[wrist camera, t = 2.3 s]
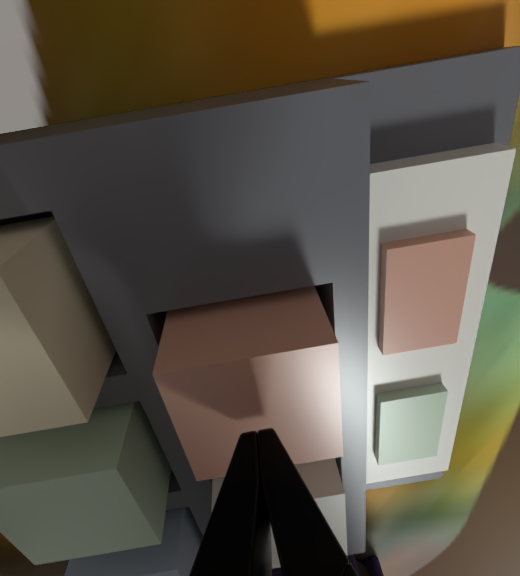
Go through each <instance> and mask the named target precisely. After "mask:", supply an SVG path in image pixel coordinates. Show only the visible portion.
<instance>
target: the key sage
mask: <svg viewBox="0 0 520 576" xmlns="http://www.w3.org/2000/svg"><path fill="white" fill-rule="evenodd" d="M170 474H171V467H170V465H169V462H168V460H167V458H166V456H165V454H164V452H163V450H162V447H161V445H160V443H159V441H158V439H157V437H156V435H155V432H154V430H153V428H152V426H151V424H150V422H149V419H148V417H147V415H146V413H145V411H144V409H143V407H142V404H141V402H140V401H137V402H131V403H125V404H119V405H113V406H107V407H102V408H96V409H93V411H92V413H91V416H90V419H89V421H88V422H87V423H81V424H75V425H69V426H63V427H57V428H51V429H46V430H40V431H34V432H28V433H22V434H16V435H10V436H4V437H0V533H1V534H2V535H3V536H4V537H6V538H7V539H8V540H9V541H10V542H11V543H12V544H13V545H14V546H15V547H16V548H17V549H18V550H19V551H20V552H21V553H22V554H23V555H24V556H25V557H27V558H28V559H29V560H30V561H31V562H32V563H33V564H34V565H39V564H45V563H51V562H57V561H63V560H69V559H75V558H81V557H87V556H93V555H99V554H105V553H111V552H117V551H123V550H128V549H134V548H140V547H146V546H152V545H158V544H161V542H162V535H163V527H164V520H165V512H166V504H167V497H168V489H169V482H170Z"/></svg>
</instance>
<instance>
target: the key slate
mask: <svg viewBox="0 0 520 576" xmlns="http://www.w3.org/2000/svg"><path fill="white" fill-rule="evenodd" d="M202 538H203V535H202V533H201V531H200V529H199V527H198V525H197V523H196V520H195V518H194V516H193V514H192V512H191V510H190V508H189V507H185V508H179V509H173V510H167V511H166V512H165V520H164V527H163V535H162V542H161V544H158V545H152V546H146V547H140V548H134V549H128V550H123V551H117V552H111V553H105V554H99V555H93V556H87V557H81V558H75V559H69V562H68V565H67V569H66V572H65V575H64V576H189V574H190V571H191V568H192V566H193V563H194V560H195V557H196V555H197V552H198V549H199V546H200V543H201V541H202Z"/></svg>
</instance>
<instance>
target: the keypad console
mask: <svg viewBox="0 0 520 576" xmlns="http://www.w3.org/2000/svg"><path fill="white" fill-rule="evenodd" d="M519 93H520V46H512V47H503V48H497V49H491V50H485V51H480V52H474V53H468V54H462V55H456V56H451V57H445V58H439V59H433V60H427V61H422V62H416V63H410V64H404V65H398V66H393V67H387V68H381V69H375V70H369V71H363V72H358V73H352V74H346V75H340V76H334V77H329V78H323V79H317V80H311V81H305V82H300V83H294V84H288V85H282V86H276V87H271V88H265V89H259V90H253V91H247V92H241V93H236V94H230V95H224V96H218V97H212V98H207V99H201V100H195V101H189V102H183V103H178V104H172V105H166V106H160V107H154V108H149V109H143V110H137V111H131V112H125V113H119V114H114V115H108V116H102V117H96V118H90V119H85V120H79V121H73V122H67V123H61V124H56V125H50V126H44V127H38V128H32V129H27V130H21V131H15V132H9V133H3V134H0V225H5V224H11V223H17V222H23V221H28V220H34V219H40V218H46V217H52V216H54V218H55V220H56V222H57V224H58V226H59V228H60V230H61V233H62V235H63V237H64V239H65V241H66V243H67V246H68V248H69V250H70V252H71V254H72V256H73V258H74V261H75V263H76V265H77V267H78V269H79V271H80V273H81V276H82V278H83V280H84V282H85V284H86V286H87V288H88V291H89V293H90V295H91V297H92V299H93V301H94V304H95V306H96V308H97V310H98V312H99V314H100V316H101V319H102V321H103V323H104V325H105V327H106V329H107V331H108V334H109V336H110V338H111V340H112V342H113V344H114V346H115V349H116V351H115V354H114V357H113V359H112V362H111V364H110V367H109V370H108V372H107V375H106V377H105V380H104V382H103V385H102V388H101V390H100V393H99V395H98V398H97V400H96V403H95V406H94V408H93V409H96V408H102V407H107V406H113V405H119V404H125V403H131V402H137V401H140V402H141V404H142V407H143V409H144V411H145V413H146V415H147V417H148V419H149V422H150V424H151V426H152V428H153V430H154V432H155V435H156V437H157V439H158V441H159V443H160V445H161V447H162V450H163V452H164V454H165V456H166V458H167V460H168V462H169V465H170V467H171V474H170V482H169V489H168V497H167V504H166V511H167V510H173V509H179V508H185V507H189V508H190V510H191V512H192V514H193V516H194V518H195V520H196V523H197V525H198V527H199V529H200V531H201V533H202V535H204V532H205V530H206V527H207V524H208V521H209V519H210V516H211V510H212V479H207V480H202V481H196V478H195V476H194V473H193V471H192V469H191V466H190V464H189V461H188V459H187V457H186V454H185V452H184V449H183V447H182V445H181V442H180V440H179V437H178V435H177V433H176V430H175V428H174V425H173V423H172V421H171V418H170V416H169V413H168V411H167V409H166V406H165V404H164V401H163V399H162V397H161V394H160V392H159V389H158V387H157V384H156V382H155V380H154V377H153V375H152V374H153V370H154V365H155V361H156V357H157V353H158V348H159V344H160V340H161V336H162V332H163V327H164V323H165V319H166V315H167V311H169V310H174V309H180V308H186V307H192V306H198V305H204V304H210V303H216V302H221V301H227V300H233V299H239V298H245V297H251V296H257V295H262V294H268V293H274V292H280V291H286V290H292V289H298V288H304V287H309V286H315V288H316V291H317V293H318V295H319V298H320V300H321V303H322V305H323V307H324V310H325V312H326V314H327V317H328V319H329V322H330V324H331V326H332V329H333V331H334V333H335V336H336V338H337V341H338V344H339V367H340V390H341V414H342V437H343V457H338V458H335V461H336V464H337V468H338V471H339V475H340V478H341V482H342V485H343V489H344V492H345V506H346V530H347V553H348V555H353V554H359V553H365V540H366V490H372V489H378V488H384V487H390V486H395V485H401V484H407V483H413V482H419V481H425V480H431V479H437V478H442V475H443V471H446V470H448V467H449V463H450V458H451V453H452V449H453V444H454V439H455V434H456V430H457V425H458V420H459V416H460V411H461V406H462V402H463V397H464V392H465V387H466V383H467V378H468V373H469V369H470V364H471V359H472V355H473V350H474V345H475V340H476V336H477V331H478V326H479V322H480V317H481V312H482V307H483V303H484V298H485V293H486V289H487V284H488V279H489V275H490V270H491V265H492V260H493V256H494V251H495V246H496V242H497V237H498V232H499V227H500V223H501V218H502V213H503V209H504V204H505V199H506V195H507V190H508V185H509V180H510V176H511V171H512V166H513V162H514V157H515V152H516V148H512V147H509V143H510V138H511V133H512V128H513V123H514V118H515V113H516V108H517V103H518V98H519Z"/></svg>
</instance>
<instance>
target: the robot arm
mask: <svg viewBox="0 0 520 576" xmlns="http://www.w3.org/2000/svg"><path fill="white" fill-rule="evenodd" d="M271 528H272V532H273V536H274V541H275V545H276V549H277V554H278V558H279V562H280V566H281V571H282V575H283V576H358V574H357V572H356V571H355V569H354V567H353V566H352V564H351V563H349V559H348V557H347V555H346V554H345V552H344V550H343V548H342V547H341V545H340V543H339V541H338V540H337V538H336V536H335V534H334V533H333V531H332V529H331V527H330V526H329V524H328V522H327V521H326V519H325V517H324V515H323V514H322V512H321V510H320V508H319V507H318V505H317V503H316V501H315V500H314V498H313V496H312V494H311V493H310V491H309V489H308V487H307V486H306V484H305V482H304V480H303V479H302V477H301V475H300V473H299V472H298V470H297V468H296V466H295V465H294V463H293V461H292V459H291V458H290V456H289V454H288V453H287V451H286V449H285V447H284V446H283V444H282V442H281V440H280V439H279V437H278V435H277V433H276V432H275V430H274V429H273V428H267V429H261V430H259V431H258V432H256V431H249V432H243V433H241V434H240V436H239V439H238V441H237V444H236V447H235V450H234V452H233V455H232V458H231V461H230V463H229V466H228V469H227V472H226V474H225V477H224V480H223V483H222V486H221V488H220V491H219V494H218V497H217V499H216V502H215V505H214V508H213V510H212V513H211V516H210V519H209V521H208V524H207V527H206V530H205V532H204V535H203V538H202V541H201V543H200V546H199V549H198V552H197V555H196V557H195V560H194V563H193V566H192V568H191V571H190V574H189V576H272V545H271Z"/></svg>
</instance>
